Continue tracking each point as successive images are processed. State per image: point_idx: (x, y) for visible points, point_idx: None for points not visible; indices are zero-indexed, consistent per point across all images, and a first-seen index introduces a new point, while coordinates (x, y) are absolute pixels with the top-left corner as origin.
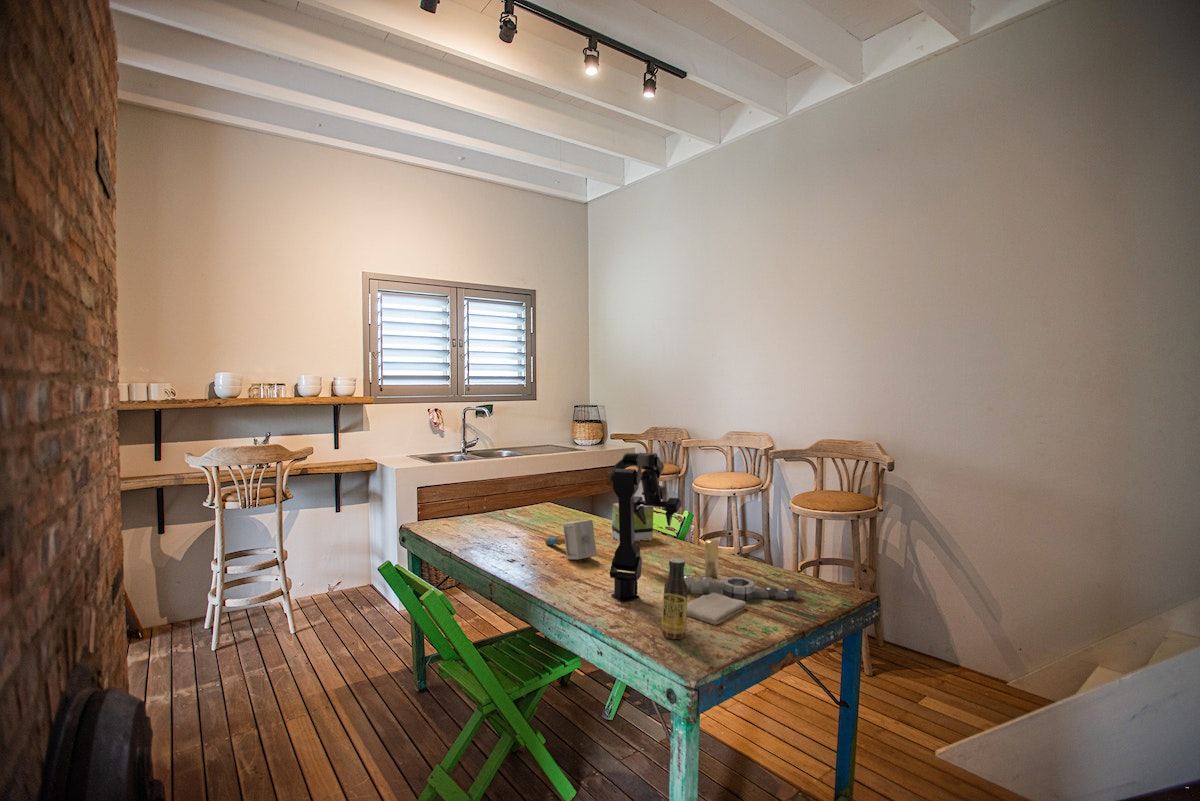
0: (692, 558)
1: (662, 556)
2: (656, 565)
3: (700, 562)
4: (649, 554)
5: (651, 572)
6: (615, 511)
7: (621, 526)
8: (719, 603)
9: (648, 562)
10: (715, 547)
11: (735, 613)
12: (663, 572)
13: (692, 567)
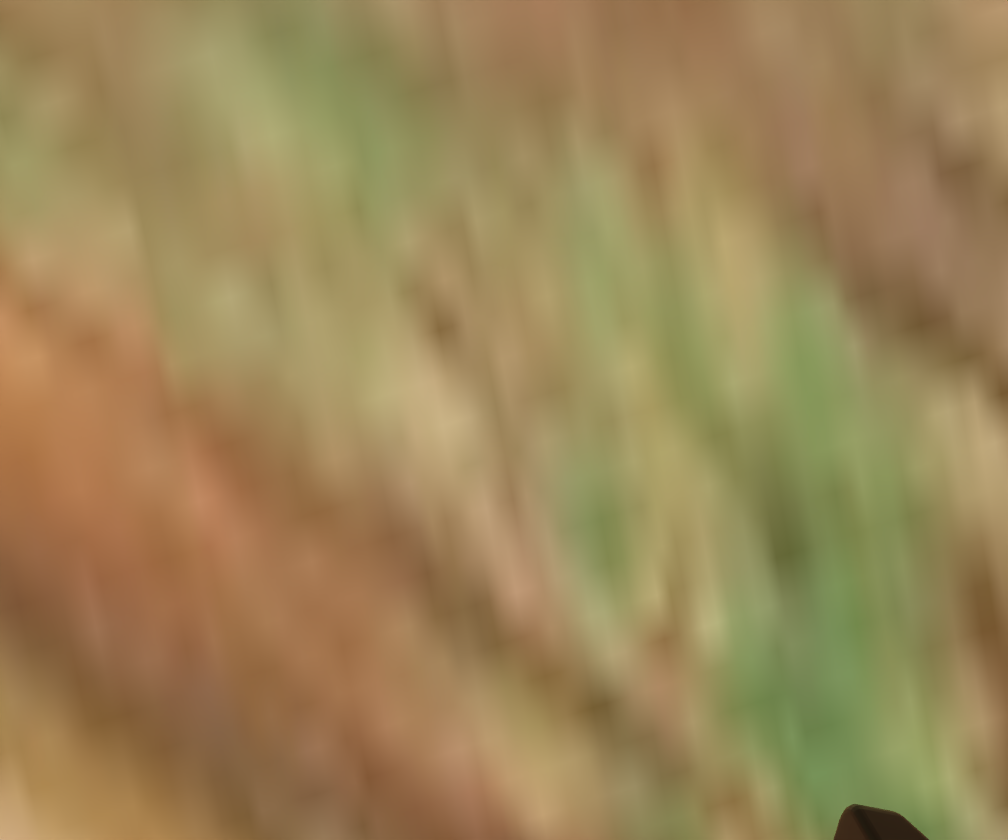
0: (859, 13)
1: (431, 46)
2: (426, 488)
3: (997, 166)
4: (232, 6)
5: (418, 818)
6: None
7: None
8: None
9: (292, 385)
10: None
11: None
12: (576, 768)
13: (924, 428)
